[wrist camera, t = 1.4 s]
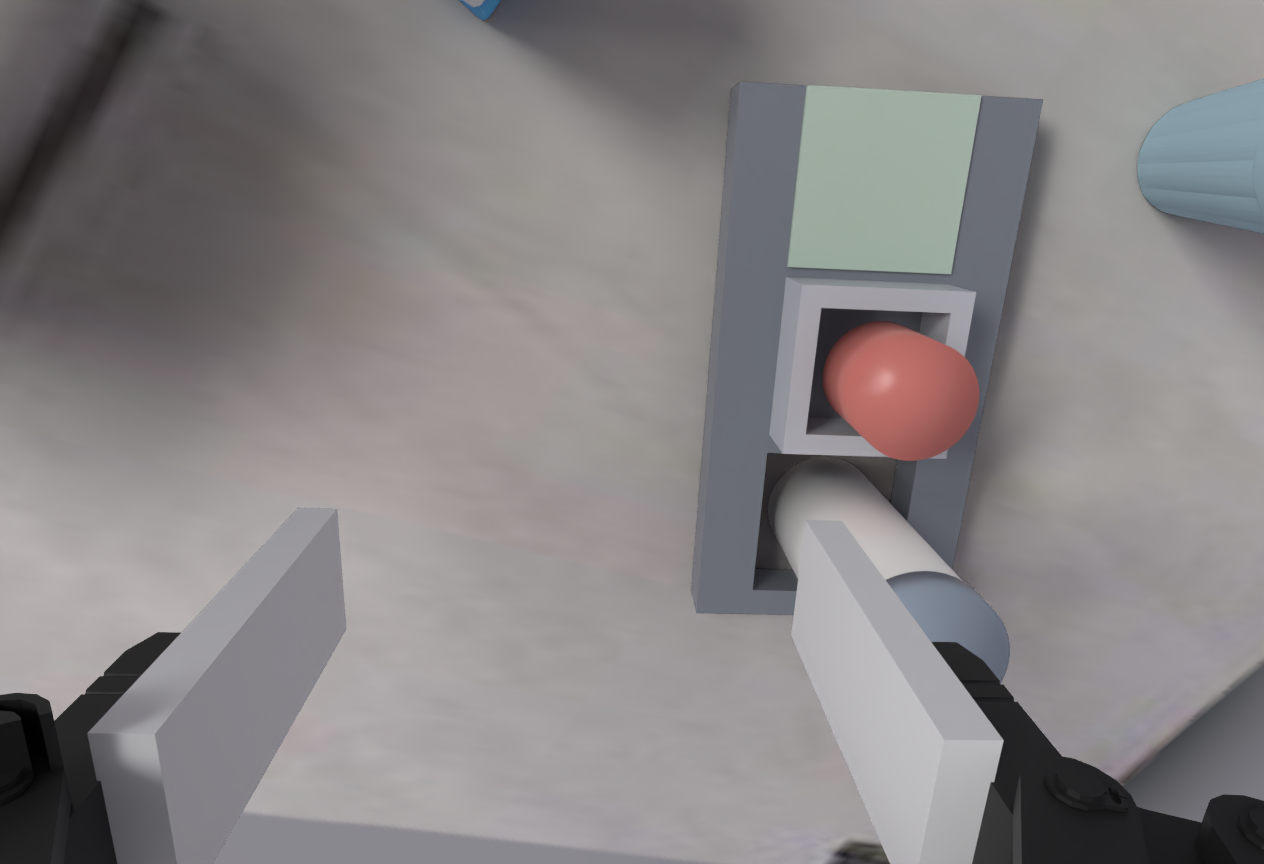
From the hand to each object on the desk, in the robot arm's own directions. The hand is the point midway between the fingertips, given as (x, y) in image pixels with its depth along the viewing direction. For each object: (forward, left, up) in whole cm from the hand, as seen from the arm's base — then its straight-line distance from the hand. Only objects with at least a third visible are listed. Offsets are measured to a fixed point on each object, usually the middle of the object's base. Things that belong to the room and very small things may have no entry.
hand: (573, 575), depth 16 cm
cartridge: (+14, -9, -26) cm, 30 cm away
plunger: (+13, 0, -20) cm, 24 cm away
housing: (+14, -1, -26) cm, 29 cm away
